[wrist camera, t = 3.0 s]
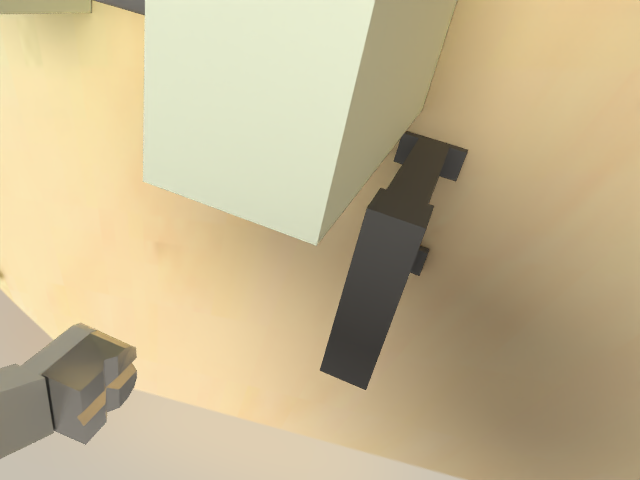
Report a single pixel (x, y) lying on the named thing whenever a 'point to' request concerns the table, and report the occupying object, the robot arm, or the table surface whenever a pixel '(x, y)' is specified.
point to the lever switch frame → (277, 98)
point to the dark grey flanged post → (387, 256)
